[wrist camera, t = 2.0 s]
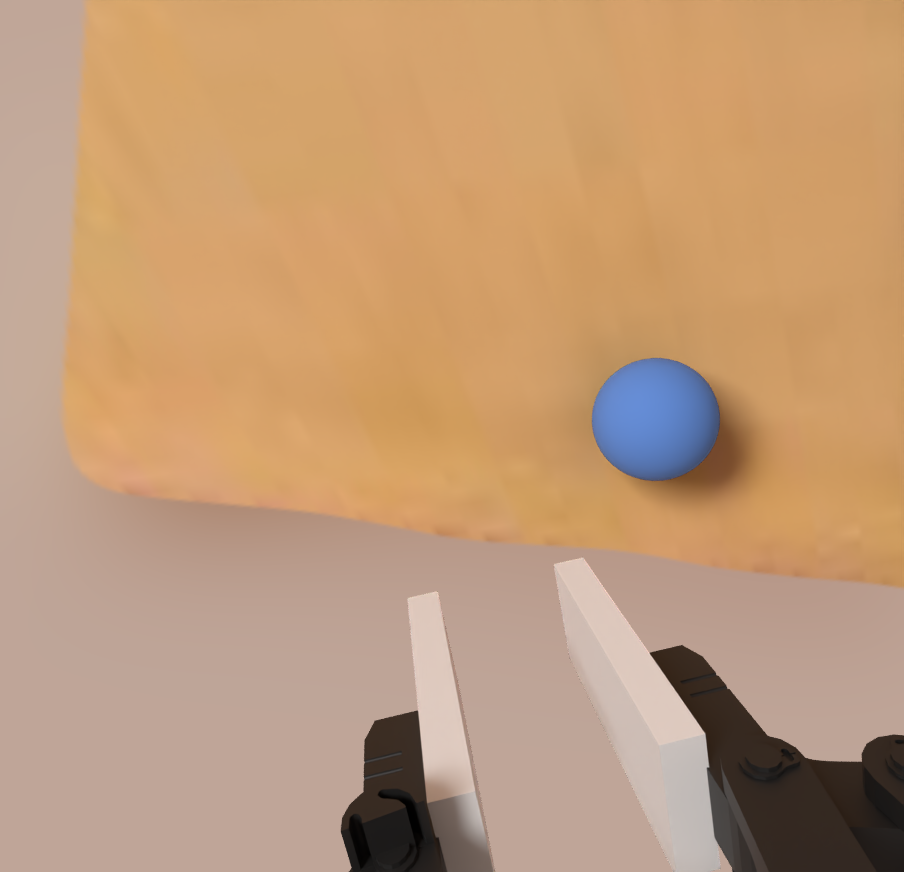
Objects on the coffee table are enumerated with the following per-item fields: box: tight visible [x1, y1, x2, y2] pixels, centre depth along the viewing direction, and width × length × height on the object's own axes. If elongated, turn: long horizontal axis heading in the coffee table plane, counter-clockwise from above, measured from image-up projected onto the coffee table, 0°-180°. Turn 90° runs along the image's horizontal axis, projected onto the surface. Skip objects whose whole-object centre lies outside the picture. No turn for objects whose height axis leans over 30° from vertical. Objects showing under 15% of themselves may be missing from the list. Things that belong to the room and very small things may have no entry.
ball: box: [592, 358, 720, 481], centre depth 31 cm, size 6×6×6 cm
